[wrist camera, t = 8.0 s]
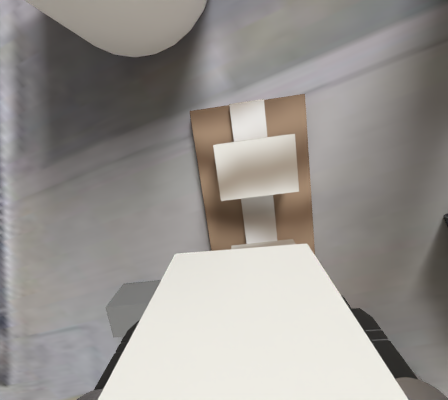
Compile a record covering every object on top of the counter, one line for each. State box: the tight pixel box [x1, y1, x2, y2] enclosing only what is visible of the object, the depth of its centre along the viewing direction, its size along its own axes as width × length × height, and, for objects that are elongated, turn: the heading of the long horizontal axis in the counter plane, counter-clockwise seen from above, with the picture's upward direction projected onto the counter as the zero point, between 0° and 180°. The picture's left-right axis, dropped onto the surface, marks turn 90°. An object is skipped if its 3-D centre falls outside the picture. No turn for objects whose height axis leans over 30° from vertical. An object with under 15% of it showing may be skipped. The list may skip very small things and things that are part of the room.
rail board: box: [190, 94, 315, 255], centre depth 28 cm, size 24×12×7 cm, turn 8°
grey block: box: [106, 280, 161, 337], centre depth 32 cm, size 4×5×5 cm
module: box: [98, 243, 408, 400], centre depth 9 cm, size 4×6×8 cm
